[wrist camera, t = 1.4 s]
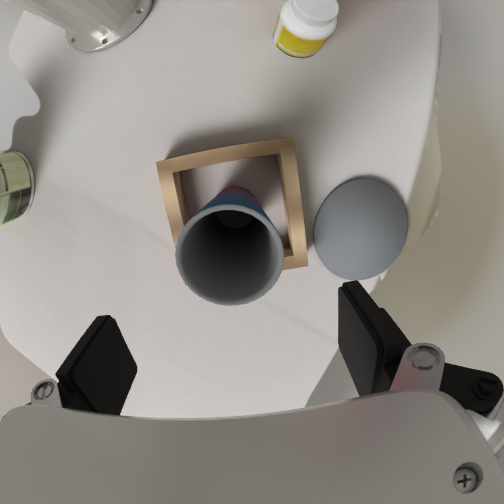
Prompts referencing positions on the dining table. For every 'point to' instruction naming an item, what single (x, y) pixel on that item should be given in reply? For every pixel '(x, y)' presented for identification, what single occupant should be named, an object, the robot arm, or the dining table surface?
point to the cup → (230, 250)
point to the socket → (282, 147)
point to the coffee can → (15, 186)
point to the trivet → (360, 229)
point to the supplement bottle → (304, 26)
